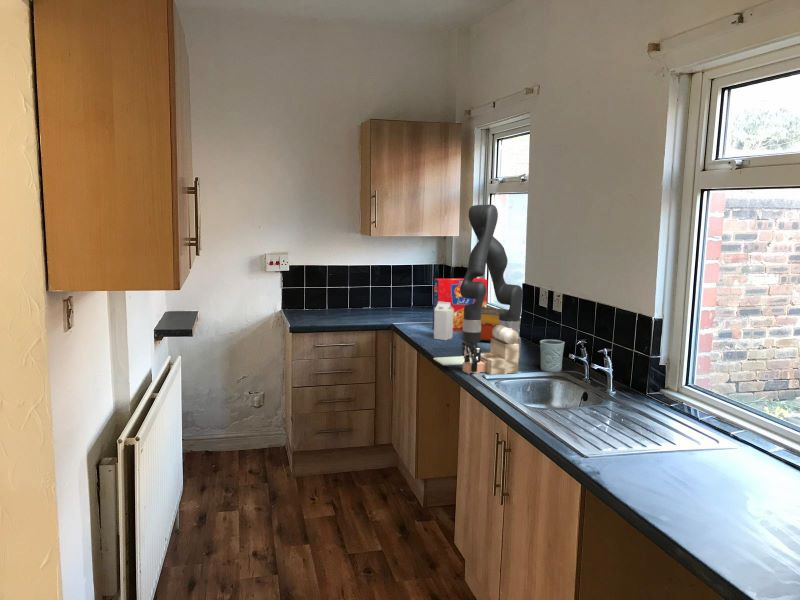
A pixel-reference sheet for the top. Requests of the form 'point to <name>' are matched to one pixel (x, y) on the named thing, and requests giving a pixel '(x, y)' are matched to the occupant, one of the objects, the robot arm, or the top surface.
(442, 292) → the pasta box
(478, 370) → the peach rectangular slab
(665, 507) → the top surface
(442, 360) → the mat
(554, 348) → the grey green plant pot
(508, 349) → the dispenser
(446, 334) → the milk carton
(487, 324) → the decorative box
